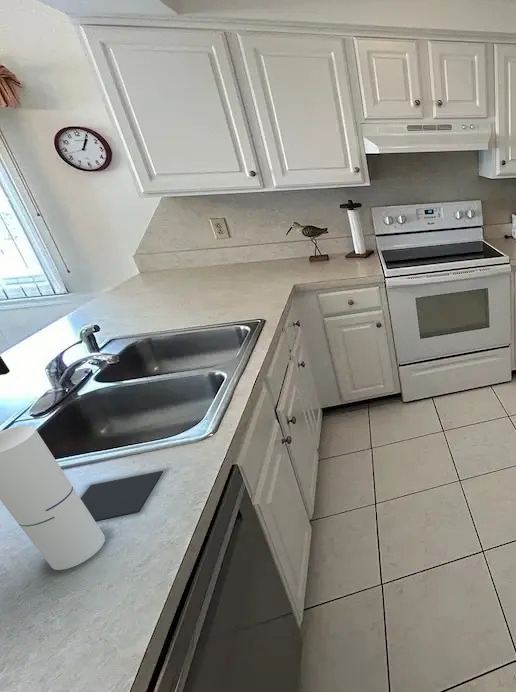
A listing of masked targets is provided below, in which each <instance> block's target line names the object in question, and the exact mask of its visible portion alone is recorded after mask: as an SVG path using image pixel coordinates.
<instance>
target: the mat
mask: <svg viewBox="0 0 516 692" xmlns="http://www.w3.org/2000/svg"><path fill="white" fill-rule="evenodd" d="M163 473H164V470H159V471H155V472H148V473H144V474H139V475H134V476H129V477H124V478H123V477H122V478H119V479H113V480H108V481H104V482H98V483H93V484H90V485H89V486H88V488H87V489H86V490H85V491H84V493H83V494H82V495H81V496H80V499H81V500H82V502H83V503H84V505H85V506H86V508H87V509H88V511H89V512H90V514H91V516H92V517H93V519H94V520H95V522H99V521H104V520H107V519H108V520H109V519H113V518H119V517H122V516H126V515H131V514H137V513H139V512H140V511H141V510H142V508H143V506H144V505H145V503H146V502H147V500H148V498H149V497H150V495H151V493H152V491H153V489H154V488H155V486H156V484H157V483H158V481H159V480H160V478H161V476H162V474H163Z"/></svg>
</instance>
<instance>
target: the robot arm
mask: <svg viewBox="0 0 516 692" xmlns="http://www.w3.org/2000/svg"><path fill="white" fill-rule="evenodd" d="M10 372H11V370H10V369H9V367H8V365H7V364H6V362H5V360H4V359H3V357H2V356H1V355H0V376H4V375H7V374H9V373H10Z"/></svg>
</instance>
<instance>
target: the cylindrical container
mask: <svg viewBox="0 0 516 692" xmlns="http://www.w3.org/2000/svg"><path fill="white" fill-rule="evenodd" d="M80 498H81V496H80V495H79V494H78V492H77V490H76V489H75V487H74V486H73V485H72V483H71V481H70V480H69V478H68V477H67V475H66V474H65V472H64V471H63V469H62V468H61V466H60V464H59V463H58V461H57V460H56V459H55V457H54V455H53V453H52V452H51V451H50V449H49V447H48V446H47V444H46V443H45V440H44V439H43V438H42V437H41V435H40V434H39V432H38V430H37V428H35V426H33V425H19V426H18V425H17V426H13V427H8V428H6V429H2V430H0V503H2V505H3V506H4V507H5V509H6V510H7V511H8V513H9V514H10V515H11V517H13V519H14V521H16V523H17V524H18V526H19V527H20V528H21V529H22V531H23V532H24V533H25V535H26V536H27V538H28V539H29V540H30V542H32V544H33V545H34V547H35V548H36V549H37V550H38V551H39V553H40V554H41V556H42V557H43V558H44V559H45V561H46V562H47V563H48V565H49V566H50V567H51V568H52V570H55V571H64V570H68V569H71V568H74V567H77V566H78V565H80V564H83V563H84V562H86V561H87V560H89V559H90V558H92V557H93V556H94V555H95V554H97V553H98V551H100V549H102V547H103V546H104V544H105V542H106V536H105V534H104V532H103V531H102V530H101V528H100V526H99V525H98V523H97V521H95V520H94V519H93V517H92V516H91V514H90V512H89V511H88V509H87V508H86V506H85V505H84V503H83V502H82V500H81V499H80Z"/></svg>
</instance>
